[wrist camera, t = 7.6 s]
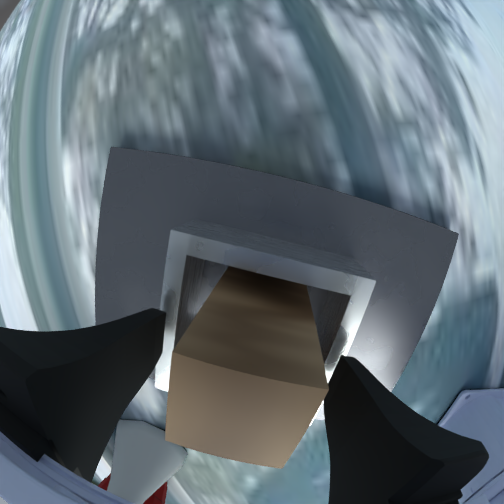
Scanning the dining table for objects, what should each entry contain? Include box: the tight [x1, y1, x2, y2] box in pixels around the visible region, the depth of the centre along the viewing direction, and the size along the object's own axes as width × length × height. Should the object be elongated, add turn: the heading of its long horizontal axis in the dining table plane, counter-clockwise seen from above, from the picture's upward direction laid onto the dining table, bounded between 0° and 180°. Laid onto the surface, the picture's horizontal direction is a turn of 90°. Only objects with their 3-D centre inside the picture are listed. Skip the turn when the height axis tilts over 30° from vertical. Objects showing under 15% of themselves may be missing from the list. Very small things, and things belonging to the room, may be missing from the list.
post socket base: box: [95, 147, 459, 425], centre depth 13 cm, size 20×14×4 cm
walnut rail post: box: [165, 266, 329, 468], centre depth 11 cm, size 4×4×8 cm
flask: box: [107, 420, 188, 504], centre depth 15 cm, size 7×7×10 cm
